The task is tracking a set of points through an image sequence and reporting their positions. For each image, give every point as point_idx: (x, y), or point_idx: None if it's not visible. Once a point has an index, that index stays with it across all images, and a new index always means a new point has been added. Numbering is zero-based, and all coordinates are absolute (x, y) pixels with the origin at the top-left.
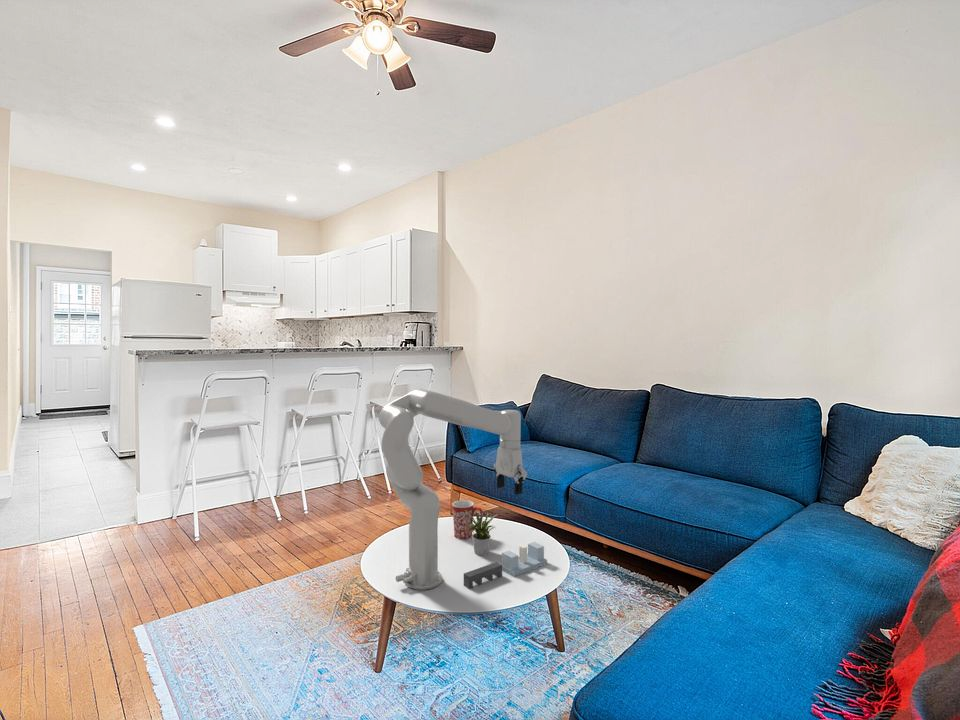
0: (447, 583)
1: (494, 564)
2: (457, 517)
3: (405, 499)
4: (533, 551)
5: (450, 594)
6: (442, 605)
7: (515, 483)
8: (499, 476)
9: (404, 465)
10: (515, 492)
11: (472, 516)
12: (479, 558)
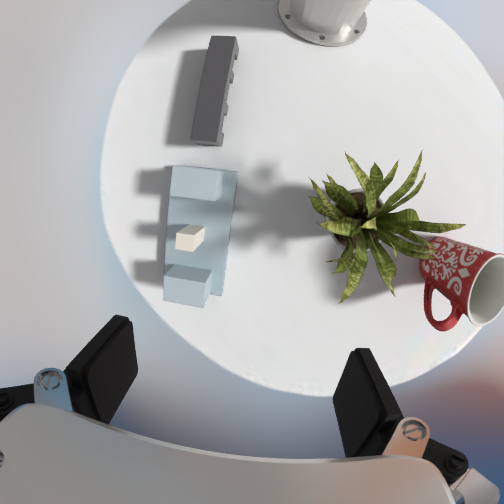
0: (274, 33)
1: (209, 125)
2: (473, 248)
3: None
4: (184, 273)
5: (230, 13)
6: None
7: (71, 369)
8: (381, 436)
9: None
10: (111, 320)
11: (423, 229)
12: (321, 179)
